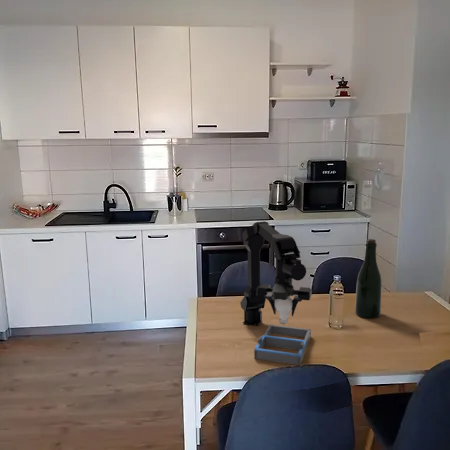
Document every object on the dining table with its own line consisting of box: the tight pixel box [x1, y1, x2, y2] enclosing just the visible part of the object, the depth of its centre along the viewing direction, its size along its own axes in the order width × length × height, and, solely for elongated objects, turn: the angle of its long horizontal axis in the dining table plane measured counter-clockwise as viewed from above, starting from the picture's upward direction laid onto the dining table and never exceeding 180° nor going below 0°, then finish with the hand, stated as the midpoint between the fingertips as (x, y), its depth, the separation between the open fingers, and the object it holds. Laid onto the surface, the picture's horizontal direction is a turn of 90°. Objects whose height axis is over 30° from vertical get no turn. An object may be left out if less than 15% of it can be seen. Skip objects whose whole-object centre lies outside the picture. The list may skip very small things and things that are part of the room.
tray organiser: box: [253, 324, 312, 366], centre depth 166 cm, size 16×23×5 cm
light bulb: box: [275, 296, 293, 325], centre depth 161 cm, size 7×7×11 cm
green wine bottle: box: [354, 238, 383, 320], centre depth 191 cm, size 10×10×33 cm
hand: (283, 314), depth 161 cm, fingers closed on light bulb, 6 cm apart
